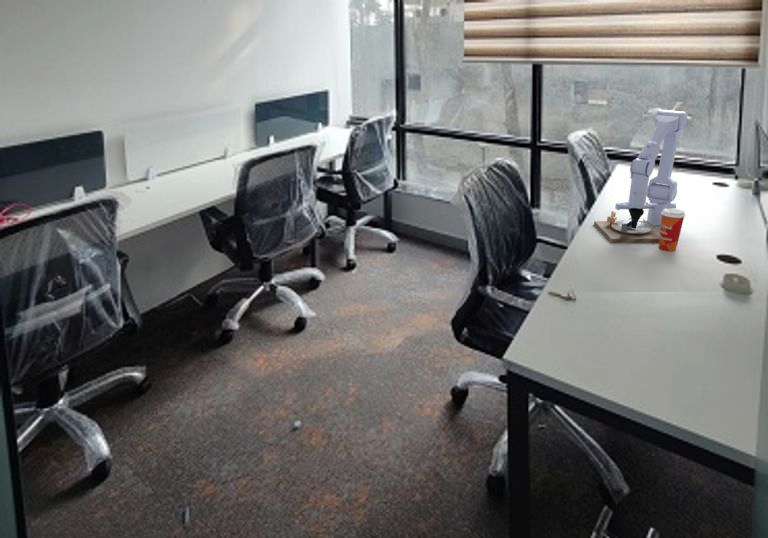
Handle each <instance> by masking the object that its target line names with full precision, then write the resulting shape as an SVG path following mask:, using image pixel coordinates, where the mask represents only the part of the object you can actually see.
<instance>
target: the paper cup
mask: <svg viewBox="0 0 768 538" xmlns="http://www.w3.org/2000/svg"><path fill="white" fill-rule="evenodd" d="M661 214H662V219H661V225H660V229H659V230H660V238H659V243H658V249H659V250H660V251H664V252H668V253H669V252H675V251H676V250H677V246H678V243H679V240H680V235H681V232H682V227H683V223H684V220H685V219H684V218H685V217H686V212H685V211H684V210H683V209H681V208H677V207H676V208H672V209H671V208H665V209H663V212H661Z"/></svg>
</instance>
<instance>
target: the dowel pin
mask: <svg viewBox="0 0 768 538" xmlns="http://www.w3.org/2000/svg"><path fill="white" fill-rule="evenodd" d="M616 215H617V212H616V211H613V210H612V211H611V214H610V216H612V217H616ZM610 225H612V223H610Z"/></svg>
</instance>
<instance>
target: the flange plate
mask: <svg viewBox="0 0 768 538" xmlns="http://www.w3.org/2000/svg"><path fill="white" fill-rule="evenodd" d="M606 221H607V222H610V223H612V225H611V228H612V229H614V230H616V231H618V232H622V233H627V234H646V233H649V232H650V231H651V226H650V225H648V224H646V223H642V222H637V227H636V229H633V228H632V227H631V222H632V219H631V217H629V218H627V219H626V220H625V219H622V220H617V216H615V217H612V216H611V215H608V216H607V218H606Z"/></svg>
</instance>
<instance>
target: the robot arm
mask: <svg viewBox="0 0 768 538" xmlns="http://www.w3.org/2000/svg"><path fill="white" fill-rule="evenodd" d="M653 121H654V128H655V129H654V131H653V132H652V135H651V136H650V137H651V138H650V140H649V141H647V142H646V143H645V144H644V145H643V147H642V149H641V151H640V152H639V154H638V157H637V158H635V159H633V160H632V161H631V164H630V166H629V173H630V179H631V182H630V189H629V196H628V201H626V202H618V203H615V209H616V210H617V211H620V210H628V212H629V216H630V218H631V219H632V222H631V227H632V228H633V229H636V227H637V222H638V221H640V219H641V217H642V216H643V215H644V213H645V210H648V211H647V217H645V218H643V219H642V221H649V222H650V223H651V224H652V225H654V226H661V219H662V214H661V212H663V209H665V208H671V209H672V208H676V209H677V204H676V201H674V200H675V199H676V197H677V193H678V182H677V180H676V179H674V178H673V177H672V174H673V173H672V172H673V167H674V163H675V162H674V161H675V157H676V153H677V148H678V147H677V146H678V142H679V138H680V135H682V134H684V133H685V131H686V127H687V121H688V114H687V113H686V111H677V110H668V109H667V110H666V109H658V110H657V111H656V112H655V115H654V120H653ZM662 142H663V144H662V149H661V146H660V145H661V143H662ZM660 152H661V154H660ZM659 154H660V161H659V165H658V170H657V174H656V175H657V176H654V177H652V178H651V179H650V176H651V175H652V174H653V171H654V168H655V165H656V159H657V158H658V155H659ZM649 179H650V180H649ZM647 198H648V201H649V202H647V201H646V200H647Z"/></svg>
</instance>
